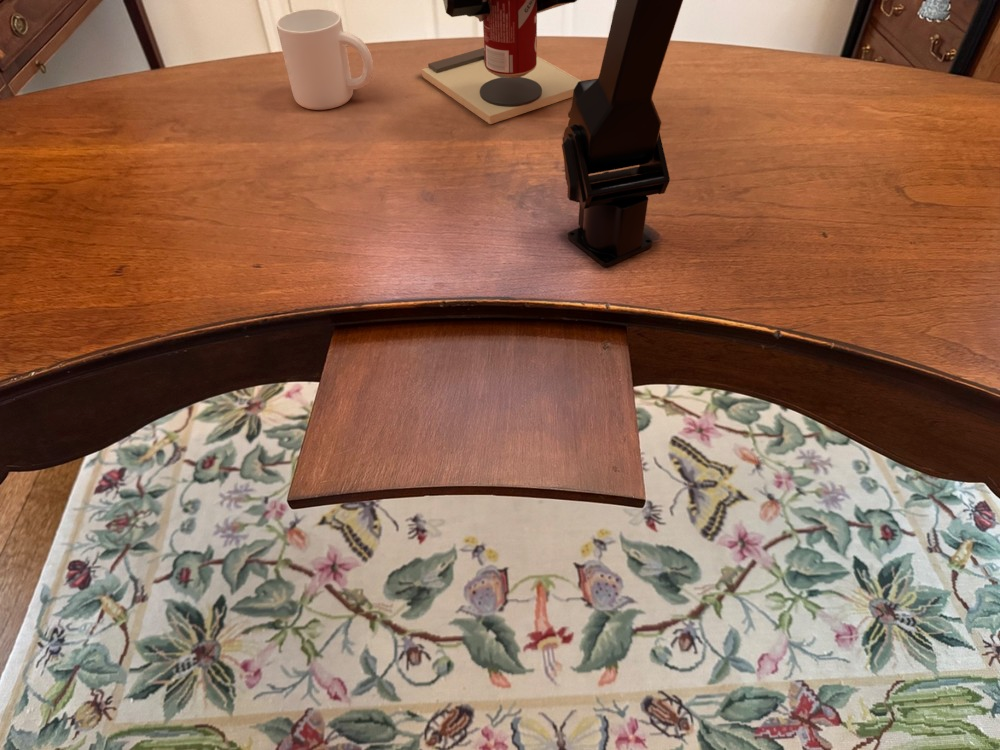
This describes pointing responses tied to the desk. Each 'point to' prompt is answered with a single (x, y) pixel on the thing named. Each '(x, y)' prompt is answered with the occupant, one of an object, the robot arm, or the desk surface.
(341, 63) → the mug
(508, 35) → the soda can
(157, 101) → the desk surface
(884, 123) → the desk surface
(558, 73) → the hob
